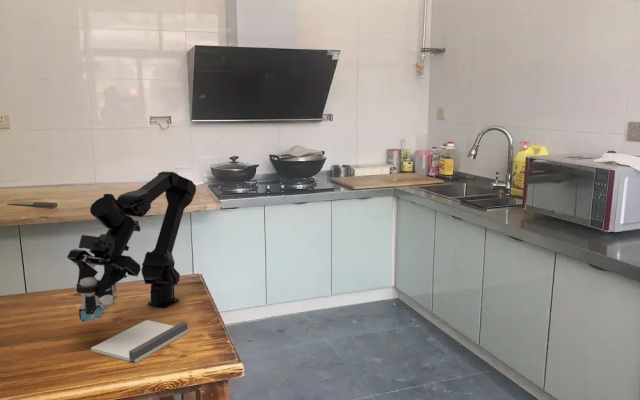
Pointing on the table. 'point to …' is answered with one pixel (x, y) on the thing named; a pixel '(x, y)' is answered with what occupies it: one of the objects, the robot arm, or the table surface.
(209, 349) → the table surface
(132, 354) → the marker board
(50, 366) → the table surface
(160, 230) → the robot arm
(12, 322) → the table surface
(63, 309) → the table surface
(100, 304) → the mug
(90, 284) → the push button
